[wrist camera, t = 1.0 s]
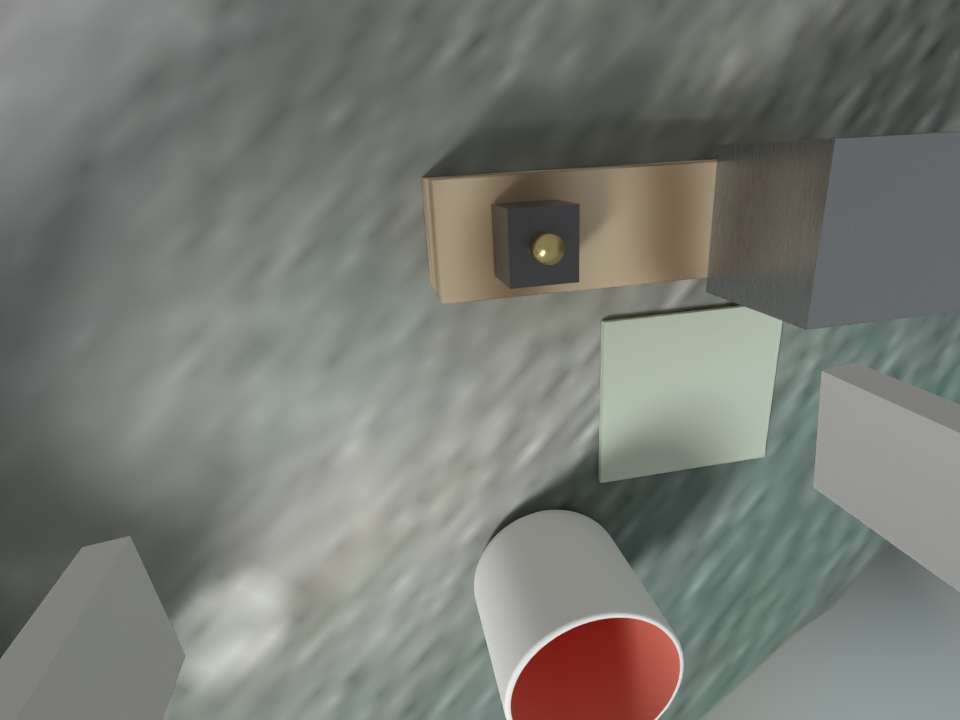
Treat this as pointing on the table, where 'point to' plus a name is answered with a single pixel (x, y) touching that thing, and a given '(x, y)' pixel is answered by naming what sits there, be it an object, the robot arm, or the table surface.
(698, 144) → the table surface
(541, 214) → the latch
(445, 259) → the long wooden block
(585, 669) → the cup
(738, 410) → the mat
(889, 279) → the gray cube on plate
